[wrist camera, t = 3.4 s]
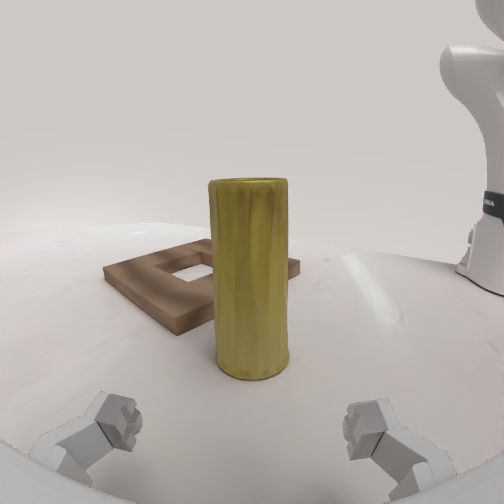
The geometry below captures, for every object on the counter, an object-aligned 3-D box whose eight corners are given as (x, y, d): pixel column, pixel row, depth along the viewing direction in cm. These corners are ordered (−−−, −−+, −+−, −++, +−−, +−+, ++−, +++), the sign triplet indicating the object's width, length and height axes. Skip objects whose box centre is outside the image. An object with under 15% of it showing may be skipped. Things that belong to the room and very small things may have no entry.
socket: (206, 248, 54) (206, 238, 53) (299, 273, 40) (300, 260, 40) (105, 279, 39) (102, 267, 38) (177, 335, 25) (174, 318, 25)
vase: (252, 330, 26) (247, 177, 22) (304, 354, 22) (312, 178, 18) (202, 357, 22) (184, 182, 18) (254, 392, 18) (248, 182, 14)
